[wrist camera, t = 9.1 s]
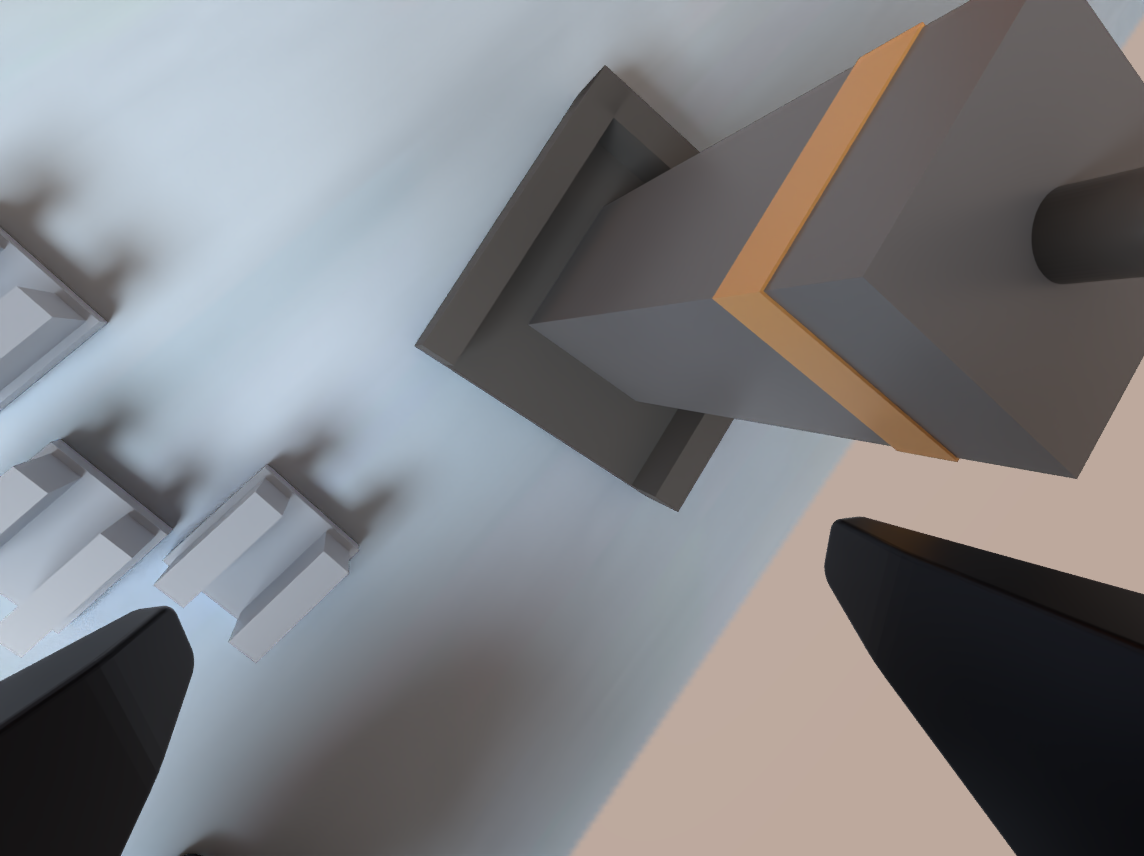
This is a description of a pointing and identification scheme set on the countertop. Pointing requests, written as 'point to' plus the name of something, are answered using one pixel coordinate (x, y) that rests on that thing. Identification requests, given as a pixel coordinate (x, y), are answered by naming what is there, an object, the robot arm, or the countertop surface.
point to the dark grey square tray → (526, 275)
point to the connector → (895, 251)
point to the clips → (136, 507)
